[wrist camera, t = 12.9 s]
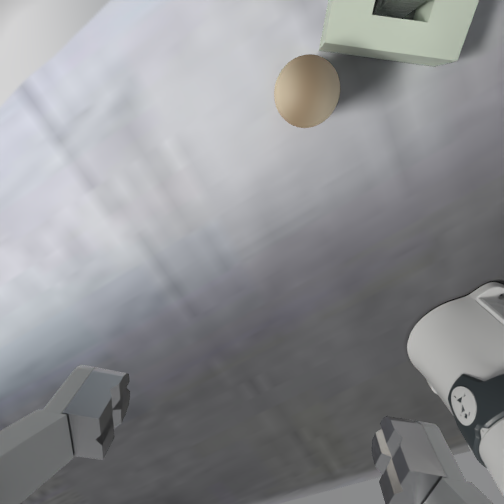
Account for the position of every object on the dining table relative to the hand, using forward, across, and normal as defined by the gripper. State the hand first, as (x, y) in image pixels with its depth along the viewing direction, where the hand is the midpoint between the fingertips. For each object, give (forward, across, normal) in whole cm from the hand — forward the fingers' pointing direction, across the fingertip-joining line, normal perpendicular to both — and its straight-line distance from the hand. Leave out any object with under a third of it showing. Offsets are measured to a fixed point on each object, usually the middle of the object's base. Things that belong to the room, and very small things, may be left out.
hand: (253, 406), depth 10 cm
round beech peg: (+28, -1, -10) cm, 30 cm away
